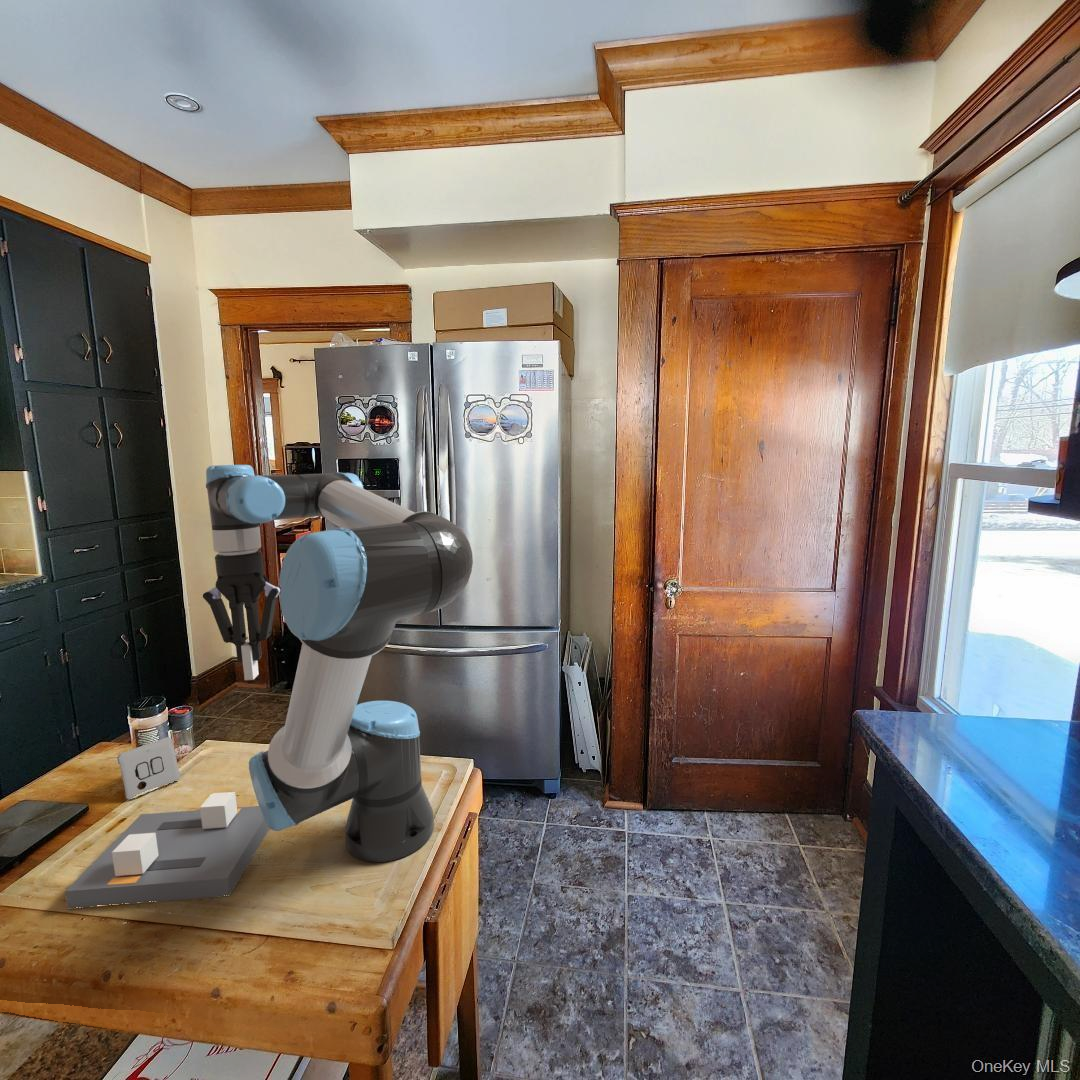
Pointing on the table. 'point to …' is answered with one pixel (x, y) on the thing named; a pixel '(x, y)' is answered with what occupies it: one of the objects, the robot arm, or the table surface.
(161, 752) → the electrical switch
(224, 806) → the tab right
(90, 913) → the table surface
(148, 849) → the tab left
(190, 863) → the switch panel
